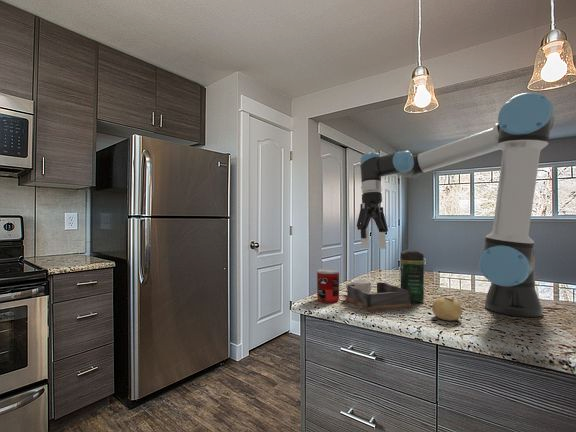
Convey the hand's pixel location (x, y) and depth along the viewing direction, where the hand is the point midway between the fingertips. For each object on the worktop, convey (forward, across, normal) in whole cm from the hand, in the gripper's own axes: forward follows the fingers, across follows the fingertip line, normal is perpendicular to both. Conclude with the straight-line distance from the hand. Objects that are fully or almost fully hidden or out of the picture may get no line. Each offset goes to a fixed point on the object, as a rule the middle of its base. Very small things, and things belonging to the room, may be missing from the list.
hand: (374, 248), depth 115 cm
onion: (+22, +5, +25) cm, 34 cm away
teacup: (+18, -3, -9) cm, 20 cm away
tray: (+20, +4, +2) cm, 20 cm away
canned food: (+19, +12, -13) cm, 26 cm away
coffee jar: (+19, -9, +10) cm, 23 cm away
